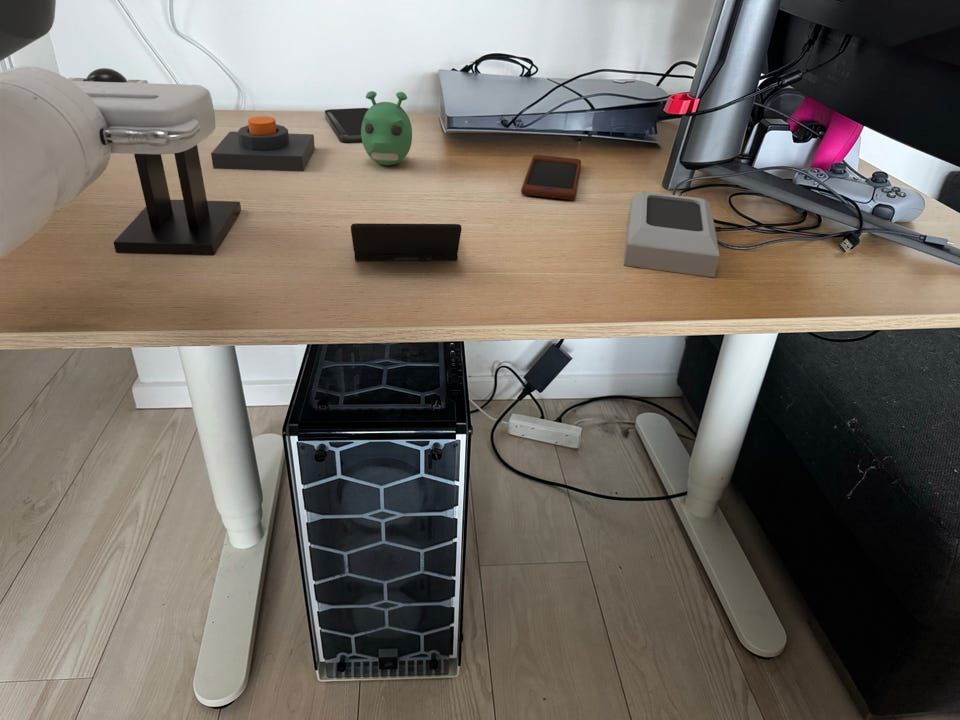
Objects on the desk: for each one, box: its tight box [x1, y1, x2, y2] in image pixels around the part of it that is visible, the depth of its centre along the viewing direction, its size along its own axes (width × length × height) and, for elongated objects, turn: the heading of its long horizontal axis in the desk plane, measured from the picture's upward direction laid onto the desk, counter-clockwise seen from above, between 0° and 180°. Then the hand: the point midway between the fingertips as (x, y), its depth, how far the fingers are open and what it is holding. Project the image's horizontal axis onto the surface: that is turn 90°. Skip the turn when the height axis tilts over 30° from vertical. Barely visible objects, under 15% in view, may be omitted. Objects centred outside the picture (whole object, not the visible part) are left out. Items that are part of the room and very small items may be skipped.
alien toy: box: [361, 90, 413, 167], centre depth 97 cm, size 7×8×10 cm
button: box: [247, 115, 277, 135], centre depth 97 cm, size 4×4×2 cm
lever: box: [85, 67, 128, 83], centre depth 66 cm, size 14×4×4 cm, turn 2°
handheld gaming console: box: [350, 222, 462, 262], centre depth 74 cm, size 12×7×10 cm
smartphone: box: [520, 154, 582, 201], centre depth 97 cm, size 7×1×15 cm
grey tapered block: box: [623, 191, 721, 278], centre depth 81 cm, size 10×4×15 cm
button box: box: [210, 124, 316, 172], centre depth 98 cm, size 12×10×4 cm
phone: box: [324, 107, 370, 144], centre depth 113 cm, size 8×1×15 cm
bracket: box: [113, 144, 242, 256], centre depth 74 cm, size 12×10×15 cm
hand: (112, 88), depth 61 cm, fingers closed on lever, 3 cm apart
